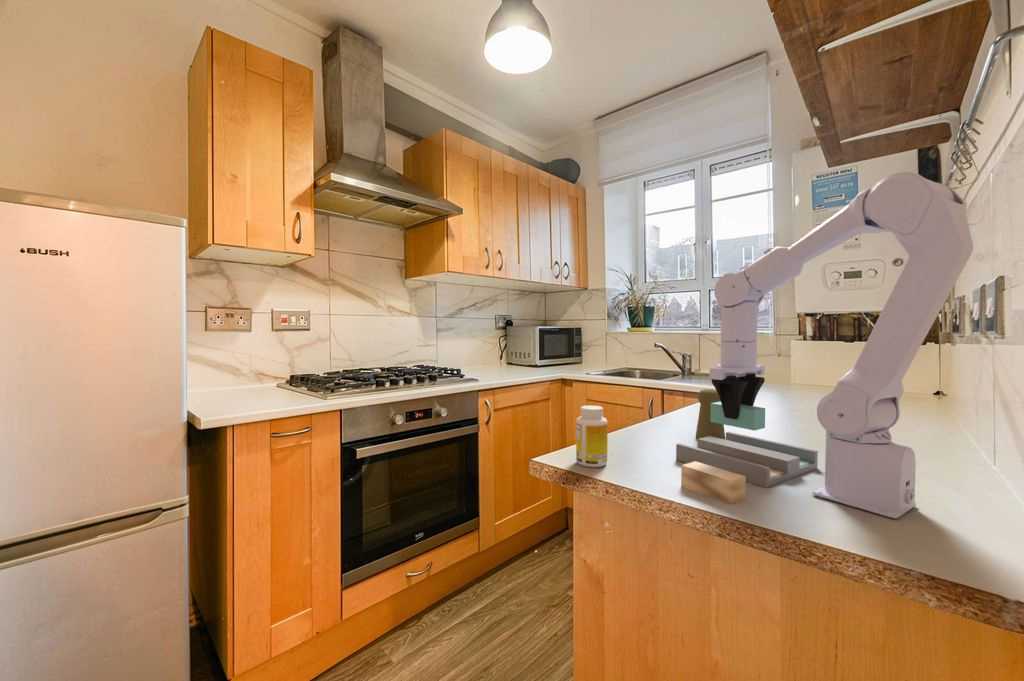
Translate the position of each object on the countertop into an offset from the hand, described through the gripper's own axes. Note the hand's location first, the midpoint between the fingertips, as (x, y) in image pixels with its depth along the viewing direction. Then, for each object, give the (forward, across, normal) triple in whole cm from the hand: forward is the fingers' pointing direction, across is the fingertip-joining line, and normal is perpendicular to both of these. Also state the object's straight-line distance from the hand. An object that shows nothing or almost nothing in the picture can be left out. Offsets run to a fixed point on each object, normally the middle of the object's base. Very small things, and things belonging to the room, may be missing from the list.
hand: (737, 416), depth 76 cm
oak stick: (+9, +16, +5) cm, 19 cm away
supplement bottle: (+9, +22, -14) cm, 28 cm away
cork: (+9, -11, -12) cm, 18 cm away
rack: (+8, -1, +1) cm, 8 cm away
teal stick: (+1, 0, 0) cm, 1 cm away
